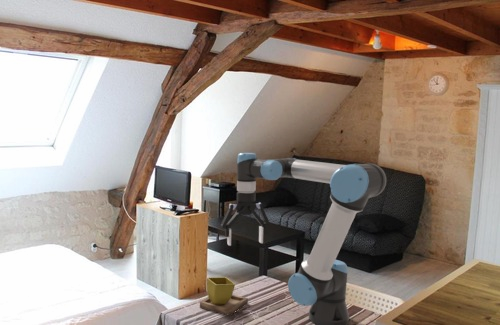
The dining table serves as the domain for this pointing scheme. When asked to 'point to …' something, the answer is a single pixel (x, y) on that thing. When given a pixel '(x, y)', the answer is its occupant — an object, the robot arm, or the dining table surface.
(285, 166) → the robot arm
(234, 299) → the walnut tray
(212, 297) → the flower pot
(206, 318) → the dining table surface
